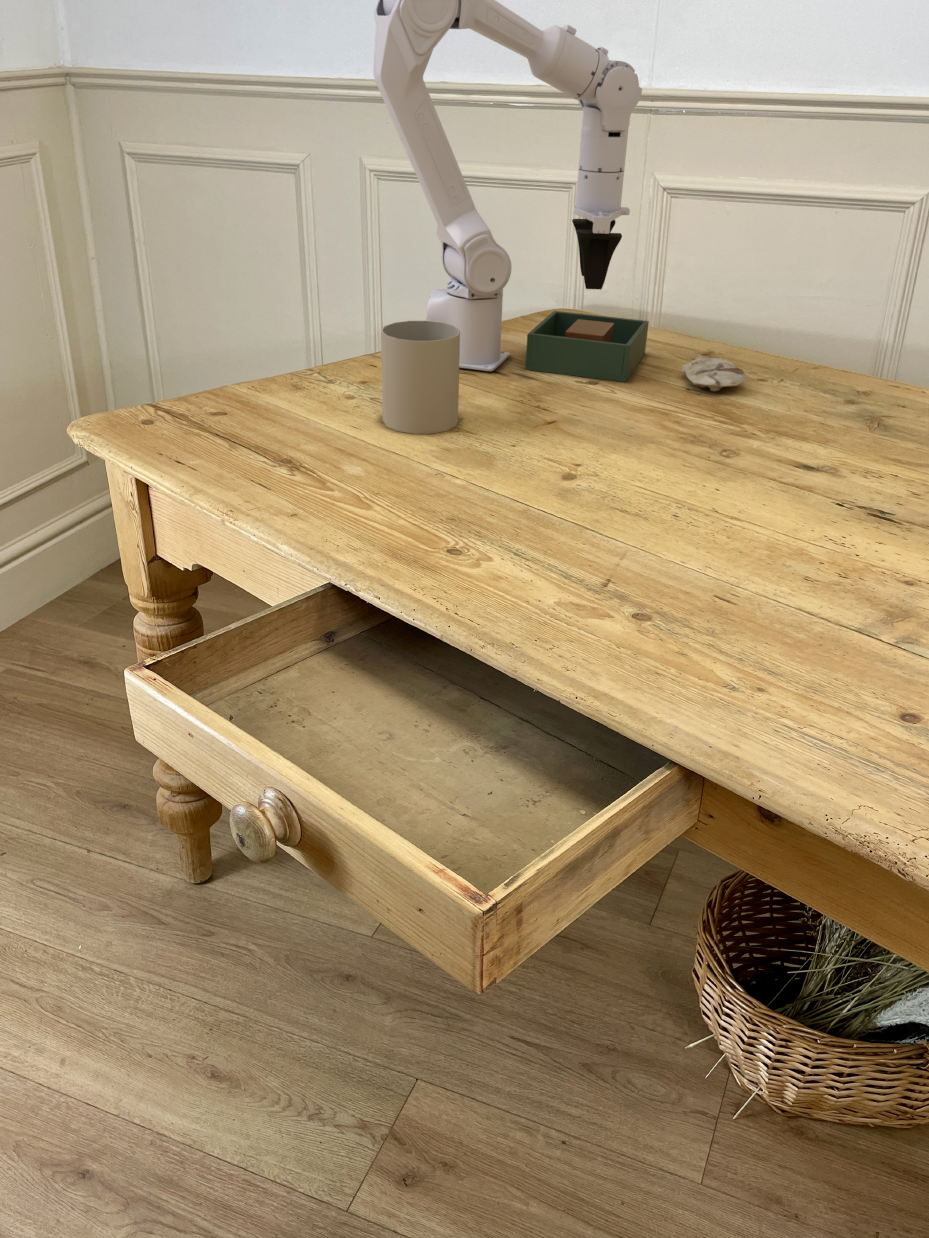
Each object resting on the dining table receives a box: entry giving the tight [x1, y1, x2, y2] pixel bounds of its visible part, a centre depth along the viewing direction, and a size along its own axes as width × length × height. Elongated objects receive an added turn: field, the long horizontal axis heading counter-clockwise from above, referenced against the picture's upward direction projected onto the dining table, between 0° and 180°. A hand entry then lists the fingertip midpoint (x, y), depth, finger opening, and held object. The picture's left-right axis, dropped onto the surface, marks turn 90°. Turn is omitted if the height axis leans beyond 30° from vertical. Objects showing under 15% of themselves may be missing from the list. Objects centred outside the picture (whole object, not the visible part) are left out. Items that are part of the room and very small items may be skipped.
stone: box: [681, 354, 747, 392], centre depth 125 cm, size 10×7×3 cm
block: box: [565, 319, 614, 342], centre depth 131 cm, size 5×7×4 cm
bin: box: [524, 310, 649, 383], centre depth 131 cm, size 13×13×5 cm
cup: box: [380, 320, 460, 435], centre depth 108 cm, size 8×8×10 cm
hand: (591, 282), depth 131 cm, fingers open, 7 cm apart
